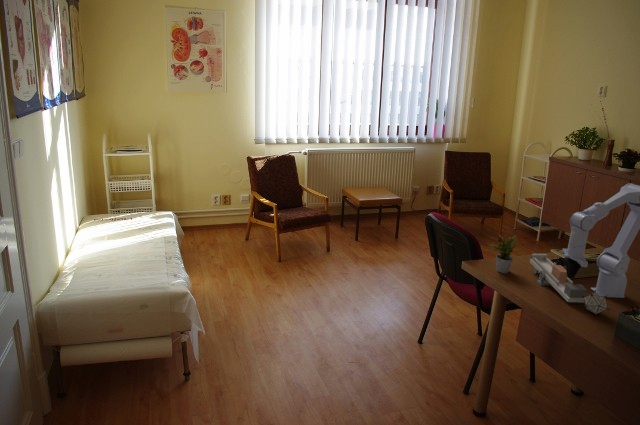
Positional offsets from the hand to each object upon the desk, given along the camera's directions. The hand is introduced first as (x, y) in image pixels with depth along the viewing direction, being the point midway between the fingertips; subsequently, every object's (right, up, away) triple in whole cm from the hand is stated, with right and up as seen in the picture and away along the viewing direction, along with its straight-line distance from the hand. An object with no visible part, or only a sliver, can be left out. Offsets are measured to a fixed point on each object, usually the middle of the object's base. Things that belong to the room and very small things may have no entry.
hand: (570, 277), depth 189 cm
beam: (-1, -3, +11) cm, 11 cm away
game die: (+3, -12, -10) cm, 16 cm away
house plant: (-16, 0, +26) cm, 31 cm away
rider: (0, -2, +9) cm, 9 cm away
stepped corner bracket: (-1, -5, +11) cm, 12 cm away
